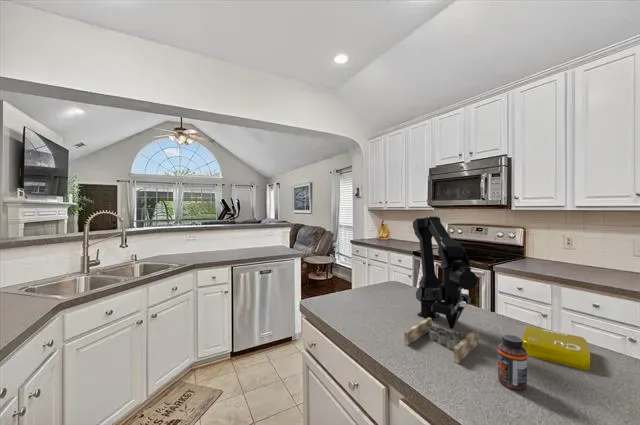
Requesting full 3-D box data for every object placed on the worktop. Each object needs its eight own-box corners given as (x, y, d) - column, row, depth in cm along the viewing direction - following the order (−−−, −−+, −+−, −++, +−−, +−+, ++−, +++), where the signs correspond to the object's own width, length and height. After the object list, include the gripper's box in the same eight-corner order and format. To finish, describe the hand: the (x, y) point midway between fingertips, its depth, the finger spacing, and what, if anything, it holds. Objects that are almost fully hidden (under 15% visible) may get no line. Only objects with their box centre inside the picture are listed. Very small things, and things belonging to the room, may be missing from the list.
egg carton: (468, 347, 91) (468, 334, 91) (450, 351, 88) (451, 338, 88) (441, 333, 100) (442, 321, 100) (425, 337, 98) (425, 325, 97)
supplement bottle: (492, 377, 74) (492, 332, 74) (514, 376, 74) (514, 332, 74) (509, 392, 68) (509, 343, 68) (533, 390, 68) (533, 342, 68)
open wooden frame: (428, 328, 104) (428, 317, 104) (478, 343, 92) (478, 330, 92) (404, 344, 92) (404, 331, 92) (458, 363, 81) (458, 348, 81)
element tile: (585, 351, 88) (585, 335, 88) (590, 373, 76) (591, 355, 76) (525, 338, 97) (525, 323, 97) (521, 355, 86) (521, 339, 86)
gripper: (439, 274, 110) (439, 315, 110) (416, 282, 97) (416, 329, 97) (471, 278, 102) (471, 323, 102) (450, 289, 89) (450, 340, 89)
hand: (451, 328), depth 98 cm, fingers closed
